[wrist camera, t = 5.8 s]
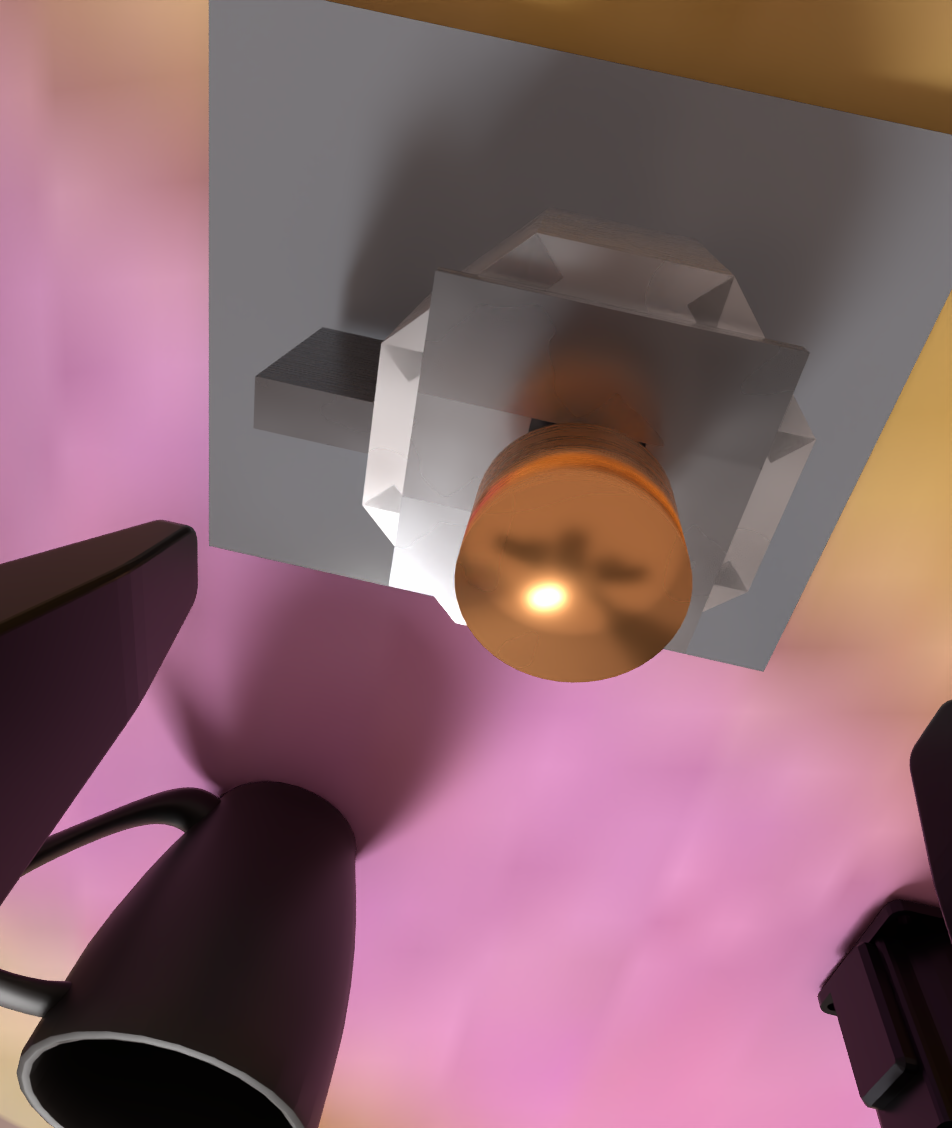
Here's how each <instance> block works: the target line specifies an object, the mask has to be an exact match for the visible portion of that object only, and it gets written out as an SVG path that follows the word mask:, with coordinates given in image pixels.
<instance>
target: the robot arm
mask: <svg viewBox="0 0 952 1128" xmlns="http://www.w3.org/2000/svg"><path fill="white" fill-rule="evenodd" d="M197 588H198V563H197V536H196V533H195V531H194V529H193V528H192V527H190V526H187V525H183V524H179V523H174V522H170V521H166V520H155V521H152V522H148V523H145V524H141V525H138V526H134V527H131V528H127V529H123V530H120V531H116V532H113V533H109V534H106V535H102V536H99V537H95V538H91V539H88V540H84V541H81V542H77V543H74V544H70V545H67V546H63V547H59V548H56V549H52V550H49V551H45V552H42V553H38V554H35V555H31V556H28V557H24V558H20V559H17V560H13V561H10V562H6V563H3V564H0V906H1V904H2V903H3V901H4V900H5V898H6V897H7V895H8V894H9V893H10V891H11V890H12V888H13V887H14V885H15V884H16V883H17V881H18V880H19V878H20V877H21V875H22V874H23V872H24V871H25V870H26V868H27V867H28V865H29V864H30V862H31V861H32V860H33V858H34V857H35V855H36V854H37V852H38V851H39V849H40V848H41V847H42V845H43V844H44V842H45V841H46V839H47V838H48V836H49V835H50V834H51V832H52V831H53V829H54V828H55V826H56V825H57V824H58V822H59V821H60V819H61V818H62V816H63V815H64V813H65V812H66V811H67V809H68V808H69V806H70V805H71V803H72V802H73V801H74V799H75V798H76V796H77V795H78V793H79V792H80V790H81V789H82V788H83V786H84V785H85V783H86V782H87V780H88V779H89V778H90V776H91V775H92V773H93V772H94V770H95V769H96V767H97V766H98V765H99V763H100V762H101V760H102V759H103V757H104V756H105V755H106V753H107V752H108V750H109V749H110V747H111V746H112V744H113V743H114V742H115V740H116V739H117V737H118V736H119V734H120V733H121V731H122V730H123V729H124V727H125V726H126V724H127V723H128V721H129V720H130V718H131V717H132V715H133V714H134V712H135V711H136V709H137V708H138V706H139V705H140V703H141V701H142V699H143V697H144V696H145V694H146V692H147V690H148V689H149V687H150V685H151V683H152V681H153V679H154V677H155V676H156V674H157V672H158V670H159V668H160V666H161V664H162V662H163V660H164V659H165V657H166V655H167V653H168V651H169V649H170V647H171V645H172V643H173V642H174V640H175V638H176V636H177V634H178V632H179V630H180V628H181V626H182V625H183V623H184V621H185V619H186V617H187V615H188V613H189V611H190V609H191V608H192V606H193V603H194V601H195V598H196V594H197ZM910 772H911V777H912V782H913V787H914V792H915V797H916V802H917V807H918V811H919V816H920V821H921V826H922V831H923V836H924V841H925V846H926V851H927V856H928V860H929V865H930V870H931V874H932V878H933V883H934V887H935V890H936V894H937V897H938V901H939V904H940V908H937V907H933V906H928V905H924V904H920V903H915V902H911V901H907V900H895V901H892V902H889V903H888V904H886V905H885V906H884V908H883V909H882V910H881V912H880V913H879V914H878V916H877V917H876V918H875V920H874V921H873V922H872V924H871V925H870V926H869V927H868V929H867V930H866V931H865V933H864V934H863V935H862V937H861V938H860V939H859V941H858V942H857V943H856V945H855V946H854V947H853V949H852V950H851V951H850V953H849V954H848V955H847V957H846V958H845V959H844V960H843V962H842V963H841V964H840V966H839V967H838V968H837V970H836V971H835V972H834V974H833V975H832V976H831V978H830V979H829V980H828V982H827V983H826V984H825V986H824V987H823V988H822V990H821V991H820V992H819V994H818V996H817V997H818V1000H819V1004H820V1008H821V1010H822V1011H823V1012H825V1013H827V1014H831V1015H835V1016H837V1017H838V1021H839V1024H840V1028H841V1031H842V1035H843V1038H844V1042H845V1045H846V1049H847V1052H848V1056H849V1059H850V1063H851V1066H852V1070H853V1073H854V1077H855V1080H856V1084H857V1087H858V1091H859V1094H860V1097H861V1099H862V1100H863V1102H864V1104H865V1105H866V1106H867V1107H869V1108H874V1109H876V1112H877V1115H878V1119H879V1122H880V1125H881V1128H952V700H949V701H947V702H946V703H944V704H943V705H942V706H941V707H940V708H939V710H938V711H937V713H936V714H935V716H934V717H933V719H932V720H931V722H930V723H929V725H928V726H927V728H926V729H925V731H924V732H923V734H922V735H921V737H920V738H919V740H918V741H917V743H916V744H915V746H914V747H913V750H912V752H911V756H910Z"/></svg>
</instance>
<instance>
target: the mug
mask: <svg viewBox="0 0 952 1128" xmlns="http://www.w3.org/2000/svg"><path fill="white" fill-rule="evenodd" d="M148 824H166V825H170V826H174V827H176V828H178V829H180V830H182V831H183V832H185V833H184V834H183V835H182V836H181V837H180V838H179V839H178V840H177V841H176V842H175V843H174V844H173V845H172V846H171V847H170V848H169V849H168V850H167V851H166V852H165V853H164V854H163V855H162V856H161V857H160V858H159V859H158V861H157V862H156V863H155V864H154V865H153V866H152V867H151V868H150V869H149V870H148V871H147V872H146V873H145V875H144V876H143V877H142V878H141V879H140V880H139V882H138V883H137V884H136V885H135V886H134V887H133V889H132V890H131V891H130V892H129V893H128V894H127V896H126V897H125V898H124V899H123V900H122V901H121V903H120V904H119V905H118V906H117V907H116V909H115V910H114V911H113V912H112V913H111V915H110V916H109V917H108V919H107V920H106V921H105V923H104V924H103V925H102V927H101V928H100V929H99V931H98V932H97V933H96V934H95V936H94V937H93V938H92V940H91V941H90V942H89V944H88V945H87V947H86V948H85V950H84V952H83V953H82V955H81V956H80V958H79V959H78V961H77V963H76V964H75V966H74V967H73V969H72V970H71V972H70V974H69V975H68V977H67V978H66V980H65V981H47V980H41V979H35V978H30V977H26V976H22V975H18V974H14V973H11V972H8V971H5V970H2V969H0V1006H2V1007H5V1008H8V1009H11V1010H14V1011H18V1012H22V1013H25V1014H29V1015H33V1016H38V1017H42V1019H41V1021H40V1022H39V1024H38V1025H37V1027H36V1029H35V1030H34V1032H33V1034H32V1035H31V1037H30V1038H29V1040H28V1042H27V1043H26V1045H25V1047H24V1048H23V1050H22V1053H21V1057H20V1061H19V1065H18V1069H17V1077H18V1081H19V1085H20V1089H21V1091H22V1092H23V1094H24V1095H25V1097H26V1099H27V1100H28V1102H29V1103H30V1105H31V1106H32V1107H33V1108H34V1109H35V1110H36V1111H37V1112H38V1113H39V1115H40V1116H41V1117H42V1118H43V1119H44V1120H45V1121H46V1122H47V1123H49V1124H50V1125H51V1126H53V1127H54V1128H318V1126H319V1122H320V1119H321V1115H322V1111H323V1108H324V1104H325V1100H326V1096H327V1093H328V1089H329V1085H330V1082H331V1078H332V1074H333V1070H334V1066H335V1062H336V1058H337V1054H338V1051H339V1047H340V1043H341V1039H342V1034H343V1029H344V1024H345V1018H346V1012H347V1006H348V1000H349V994H350V988H351V979H352V969H353V960H354V949H355V928H356V883H355V858H356V842H355V837H354V834H353V831H352V829H351V827H350V825H349V823H348V822H347V820H346V819H345V818H344V817H343V815H342V814H341V813H340V812H339V811H338V810H337V809H336V808H335V807H333V806H332V805H331V804H330V803H329V802H327V801H326V800H324V799H323V798H321V797H319V796H318V795H316V794H314V793H312V792H310V791H307V790H305V789H302V788H300V787H297V786H293V785H289V784H285V783H278V782H254V783H248V784H245V785H242V786H238V787H236V788H234V789H232V790H231V791H229V792H228V793H226V794H224V795H223V796H222V798H221V799H219V798H218V797H217V796H215V795H214V794H212V793H210V792H208V791H206V790H203V789H199V788H189V787H187V788H177V789H172V790H167V791H164V792H160V793H157V794H154V795H151V796H148V797H145V798H143V799H140V800H137V801H135V802H132V803H129V804H127V805H124V806H122V807H119V808H117V809H114V810H112V811H110V812H107V813H105V814H102V815H100V816H97V817H95V818H92V819H90V820H88V821H85V822H83V823H80V824H78V825H75V826H73V827H70V828H68V829H66V830H63V831H61V832H58V833H56V834H54V835H51V836H49V837H48V838H47V839H46V841H45V842H44V844H43V845H42V847H41V848H40V849H39V851H38V852H37V854H36V855H35V857H34V858H33V860H32V861H31V862H30V864H29V865H28V867H27V868H26V870H25V871H24V872H23V874H22V875H21V876H23V875H25V874H26V873H28V872H30V871H32V870H34V869H36V868H38V867H39V866H41V865H43V864H45V863H47V862H49V861H51V860H53V859H55V858H57V857H60V856H62V855H64V854H66V853H68V852H70V851H72V850H75V849H77V848H79V847H81V846H84V845H86V844H88V843H91V842H93V841H96V840H98V839H100V838H103V837H106V836H108V835H111V834H114V833H117V832H120V831H123V830H126V829H129V828H133V827H137V826H142V825H148Z"/></svg>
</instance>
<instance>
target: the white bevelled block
mask: <svg viewBox="0 0 952 1128" xmlns="http://www.w3.org/2000/svg"><path fill="white" fill-rule="evenodd" d="M809 354H810V352H809V351H808V350H806V349H805V348H804V347H803V346H798V345H794V344H789V343H784V342H780V341H775V340H771V339H766V338H765V337H764V335H763V333H762V331H761V329H760V327H759V325H758V323H757V321H756V319H755V316H754V314H753V312H752V310H751V308H750V306H749V304H748V302H747V300H746V298H745V296H744V294H743V292H742V290H741V288H740V286H739V284H738V282H737V280H736V278H735V276H734V275H733V274H732V273H731V272H730V271H729V270H728V269H727V268H726V267H725V266H724V265H722V264H721V263H720V262H719V261H718V260H717V259H716V258H715V257H714V256H713V255H712V254H711V253H710V252H709V251H708V250H707V249H706V248H705V247H703V246H702V245H701V244H700V243H699V242H698V241H697V240H696V239H693V238H688V237H684V236H679V235H675V234H670V233H665V232H661V231H656V230H652V229H647V228H643V227H638V226H633V225H629V224H624V223H620V222H615V221H610V220H606V219H601V218H597V217H592V216H587V215H583V214H578V213H574V212H569V211H564V210H560V209H555V208H551V207H549V208H548V209H546V210H545V211H544V212H542V213H541V214H539V215H538V216H537V217H535V218H534V219H532V220H531V221H530V222H528V223H527V224H526V225H524V226H523V227H521V228H520V229H519V230H517V231H516V232H514V233H513V234H512V235H510V236H509V237H508V238H506V239H505V240H503V241H502V242H501V243H499V244H498V245H496V246H495V247H494V248H492V249H491V250H489V251H488V252H487V253H485V254H484V255H483V256H481V257H480V258H478V259H477V260H476V261H474V262H473V263H471V264H470V265H469V266H467V267H466V268H465V269H463V270H462V271H457V270H452V269H447V268H443V267H439V268H438V269H437V270H436V271H435V277H434V283H433V290H432V292H431V293H430V294H429V295H428V296H427V297H426V298H425V299H424V300H423V301H422V302H421V303H420V304H419V305H418V306H417V307H416V308H415V309H414V310H413V311H412V312H411V313H410V314H409V315H408V316H407V317H406V318H405V319H404V320H403V321H402V322H401V324H400V325H399V326H398V327H397V328H396V329H395V330H394V331H393V332H392V333H391V334H390V335H389V336H388V337H387V338H386V339H385V340H384V341H383V340H379V339H374V338H370V337H365V336H361V335H356V334H352V333H347V332H343V331H338V330H334V329H329V328H325V327H322V328H320V329H319V330H318V331H316V332H315V333H314V334H312V335H311V336H310V337H308V338H307V339H305V340H304V341H303V342H301V343H300V344H299V345H297V346H296V347H294V348H293V349H292V350H290V351H289V352H288V353H286V354H285V355H284V356H282V357H281V358H279V359H278V360H277V361H275V362H274V363H273V364H271V365H270V366H268V367H267V368H266V369H264V370H263V371H262V372H260V373H259V374H258V375H256V376H255V395H254V426H253V428H255V429H259V430H263V431H268V432H272V433H277V434H281V435H286V436H290V437H295V438H299V439H304V440H308V441H313V442H317V443H321V444H326V445H330V446H335V447H339V448H344V449H348V450H353V451H357V452H362V453H366V454H368V460H367V468H366V477H365V485H364V494H363V502H362V505H363V507H364V508H365V509H366V510H367V512H368V513H369V514H370V515H371V517H372V518H373V519H374V520H375V522H376V523H377V524H378V526H379V527H380V528H381V529H382V531H383V532H384V533H385V534H386V536H387V537H388V538H389V539H390V541H391V542H392V543H393V545H394V546H395V547H394V554H393V561H392V567H391V574H390V581H389V586H392V587H397V588H401V589H405V590H410V591H414V592H419V593H423V594H427V595H432V596H435V598H436V599H437V600H438V602H439V603H440V604H441V605H442V607H443V608H444V609H445V610H446V612H447V613H448V614H449V615H450V617H451V618H452V619H453V621H454V622H455V623H459V624H463V625H467V624H466V622H465V620H464V618H463V616H462V614H461V612H460V609H459V606H458V603H457V598H456V592H455V568H456V562H457V558H458V554H459V551H460V548H461V544H462V541H463V538H464V534H465V531H466V528H467V524H468V521H469V518H470V515H471V511H472V508H473V505H474V501H475V498H476V495H477V491H478V488H479V485H480V483H481V480H482V478H483V476H484V474H485V472H486V470H487V469H488V467H489V466H490V464H491V463H492V461H493V460H494V459H495V458H496V457H497V455H498V454H499V453H500V452H501V451H502V450H504V449H505V448H506V447H507V446H508V445H509V444H511V443H512V442H513V441H515V440H516V439H518V438H519V437H521V436H523V435H525V434H527V433H528V431H529V427H530V423H531V418H535V419H539V420H544V421H548V422H553V423H557V424H558V423H569V422H581V423H591V424H598V425H602V426H605V427H609V428H612V429H615V430H617V431H619V432H622V433H624V434H626V435H628V436H629V437H631V438H633V439H634V440H636V441H638V442H642V446H644V447H645V448H646V449H647V450H648V451H649V452H650V453H651V454H652V455H653V456H654V457H655V458H656V459H657V461H658V462H659V464H660V465H661V466H662V468H663V469H664V471H665V473H666V475H667V477H668V479H669V481H670V484H671V487H672V491H673V494H674V498H675V502H676V506H677V510H678V514H679V519H680V523H681V527H682V531H683V535H684V539H685V543H686V547H687V551H688V555H689V559H690V564H691V570H692V595H691V602H690V605H689V608H688V611H687V615H686V617H685V619H684V621H683V623H682V625H681V627H680V629H679V630H678V631H677V633H676V634H675V636H674V637H673V639H672V640H671V641H670V642H669V643H668V644H667V645H666V646H665V649H670V650H674V651H678V652H683V653H686V650H687V648H688V645H689V643H690V641H691V638H692V636H693V633H694V631H695V629H696V626H697V624H698V621H699V619H700V617H701V614H702V612H704V611H706V610H708V609H711V608H713V607H715V606H717V605H720V604H722V603H724V602H726V601H729V600H731V599H733V598H735V597H737V596H740V595H742V594H744V593H746V592H748V591H749V588H750V586H751V584H752V582H753V579H754V577H755V575H756V573H757V571H758V568H759V566H760V564H761V562H762V559H763V557H764V555H765V553H766V550H767V548H768V546H769V544H770V541H771V539H772V537H773V535H774V532H775V530H776V528H777V526H778V523H779V521H780V519H781V517H782V515H783V512H784V510H785V508H786V506H787V503H788V501H789V499H790V497H791V494H792V492H793V490H794V488H795V485H796V483H797V481H798V479H799V476H800V474H801V472H802V470H803V468H804V465H805V463H806V461H807V459H808V456H809V454H810V452H811V450H812V447H813V445H814V443H815V441H816V439H815V437H814V435H813V433H812V431H811V429H810V427H809V425H808V423H807V421H806V419H805V417H804V415H803V413H802V411H801V409H800V407H799V405H798V403H797V401H796V399H795V397H794V395H793V393H794V390H795V388H796V386H797V383H798V381H799V378H800V376H801V374H802V371H803V369H804V366H805V364H806V362H807V359H808V357H809Z"/></svg>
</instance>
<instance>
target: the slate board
mask: <svg viewBox="0 0 952 1128" xmlns="http://www.w3.org/2000/svg"><path fill="white" fill-rule="evenodd" d="M549 207H551V208H555V209H560V210H564V211H569V212H574V213H578V214H583V215H587V216H592V217H597V218H601V219H606V220H610V221H615V222H620V223H624V224H629V225H633V226H638V227H643V228H647V229H652V230H656V231H661V232H665V233H670V234H675V235H679V236H684V237H688V238H693V239H696V240H697V241H698V242H699V243H700V244H701V245H702V246H703V247H705V248H706V249H707V250H708V251H709V252H710V253H711V254H712V255H713V256H714V257H715V258H716V259H717V260H718V261H719V262H720V263H721V264H722V265H724V266H725V267H726V268H727V269H728V270H729V271H730V272H731V273H732V274H733V275H734V276H735V278H736V280H737V282H738V284H739V286H740V288H741V290H742V292H743V294H744V296H745V298H746V300H747V302H748V304H749V306H750V308H751V310H752V312H753V314H754V316H755V319H756V321H757V323H758V325H759V327H760V329H761V331H762V333H763V335H764V337H765V338H766V339H771V340H775V341H780V342H784V343H789V344H794V345H798V346H803V347H804V348H805V349H806V350H808V351H809V352H810V354H809V357H808V359H807V362H806V364H805V366H804V369H803V371H802V374H801V376H800V378H799V381H798V383H797V386H796V388H795V390H794V393H793V395H794V397H795V399H796V401H797V403H798V405H799V407H800V409H801V411H802V413H803V415H804V417H805V419H806V421H807V423H808V425H809V427H810V429H811V431H812V433H813V435H814V437H815V439H816V441H815V443H814V445H813V447H812V450H811V452H810V454H809V456H808V459H807V461H806V463H805V465H804V468H803V470H802V472H801V474H800V476H799V479H798V481H797V483H796V485H795V488H794V490H793V492H792V494H791V497H790V499H789V501H788V503H787V506H786V508H785V510H784V512H783V515H782V517H781V519H780V521H779V523H778V526H777V528H776V530H775V532H774V535H773V537H772V539H771V541H770V544H769V546H768V548H767V550H766V553H765V555H764V557H763V559H762V562H761V564H760V566H759V568H758V571H757V573H756V575H755V577H754V579H753V582H752V584H751V586H750V588H749V591H748V592H746V593H744V594H742V595H740V596H737V597H735V598H733V599H731V600H729V601H726V602H724V603H722V604H720V605H717V606H715V607H713V608H711V609H708V610H706V611H704V612H702V614H701V617H700V619H699V621H698V624H697V626H696V629H695V631H694V633H693V636H692V638H691V641H690V643H689V645H688V648H687V650H686V653H684V654H688V655H692V656H697V657H701V658H706V659H710V660H715V661H719V662H723V663H728V664H732V665H737V666H741V667H745V668H750V669H754V670H759V671H763V672H764V670H765V668H766V666H767V664H768V662H769V659H770V657H771V655H772V653H773V651H774V649H775V647H776V645H777V643H778V641H779V639H780V637H781V635H782V633H783V631H784V629H785V627H786V625H787V623H788V621H789V619H790V617H791V615H792V613H793V611H794V609H795V607H796V605H797V603H798V601H799V599H800V596H801V594H802V592H803V590H804V588H805V586H806V584H807V582H808V580H809V578H810V576H811V574H812V572H813V570H814V568H815V566H816V564H817V562H818V560H819V558H820V556H821V554H822V552H823V550H824V548H825V546H826V544H827V542H828V540H829V538H830V535H831V533H832V531H833V529H834V527H835V525H836V523H837V521H838V519H839V517H840V515H841V513H842V511H843V509H844V507H845V505H846V503H847V501H848V499H849V497H850V495H851V493H852V491H853V489H854V487H855V485H856V483H857V481H858V479H859V477H860V475H861V472H862V470H863V468H864V466H865V464H866V462H867V460H868V458H869V456H870V454H871V452H872V450H873V448H874V446H875V444H876V442H877V440H878V438H879V436H880V434H881V432H882V430H883V428H884V426H885V424H886V422H887V420H888V418H889V416H890V414H891V411H892V409H893V407H894V405H895V403H896V401H897V399H898V397H899V395H900V393H901V391H902V389H903V387H904V385H905V383H906V381H907V379H908V377H909V375H910V373H911V371H912V369H913V367H914V365H915V363H916V361H917V359H918V357H919V355H920V353H921V351H922V348H923V346H924V344H925V342H926V340H927V338H928V336H929V334H930V332H931V330H932V328H933V326H934V324H935V322H936V320H937V318H938V316H939V314H940V312H941V310H942V308H943V306H944V304H945V302H946V300H947V298H948V296H949V294H950V292H951V290H952V135H950V134H946V133H941V132H936V131H932V130H927V129H922V128H918V127H913V126H908V125H904V124H899V123H894V122H890V121H885V120H880V119H876V118H871V117H866V116H862V115H857V114H852V113H848V112H843V111H838V110H834V109H829V108H824V107H820V106H815V105H810V104H806V103H801V102H796V101H792V100H787V99H782V98H778V97H773V96H768V95H764V94H759V93H754V92H750V91H745V90H740V89H736V88H731V87H726V86H722V85H717V84H712V83H708V82H703V81H698V80H694V79H689V78H684V77H680V76H675V75H670V74H666V73H661V72H656V71H652V70H647V69H642V68H638V67H633V66H628V65H624V64H619V63H614V62H610V61H605V60H600V59H596V58H591V57H586V56H582V55H577V54H572V53H568V52H563V51H558V50H554V49H549V48H544V47H540V46H535V45H530V44H526V43H521V42H516V41H512V40H507V39H502V38H498V37H493V36H488V35H484V34H479V33H474V32H470V31H465V30H460V29H456V28H451V27H446V26H442V25H437V24H432V23H428V22H423V21H418V20H414V19H409V18H404V17H400V16H395V15H390V14H386V13H381V12H376V11H372V10H367V9H362V8H358V7H353V6H348V5H343V4H339V3H334V2H329V1H325V0H209V546H213V547H217V548H221V549H226V550H230V551H235V552H239V553H243V554H248V555H252V556H257V557H261V558H265V559H270V560H274V561H279V562H283V563H287V564H292V565H296V566H301V567H305V568H309V569H314V570H318V571H323V572H327V573H331V574H336V575H340V576H345V577H349V578H353V579H358V580H362V581H367V582H371V583H375V584H380V585H384V586H389V581H390V574H391V567H392V561H393V554H394V547H395V546H394V545H393V543H392V542H391V541H390V539H389V538H388V537H387V536H386V534H385V533H384V532H383V531H382V529H381V528H380V527H379V526H378V524H377V523H376V522H375V520H374V519H373V518H372V517H371V515H370V514H369V513H368V512H367V510H366V509H365V508H364V507H363V505H362V502H363V494H364V485H365V477H366V468H367V460H368V454H366V453H362V452H357V451H353V450H348V449H344V448H339V447H335V446H330V445H326V444H321V443H317V442H313V441H308V440H304V439H299V438H295V437H290V436H286V435H281V434H277V433H272V432H268V431H263V430H259V429H255V428H253V426H254V395H255V376H256V375H258V374H259V373H260V372H262V371H263V370H264V369H266V368H267V367H268V366H270V365H271V364H273V363H274V362H275V361H277V360H278V359H279V358H281V357H282V356H284V355H285V354H286V353H288V352H289V351H290V350H292V349H293V348H294V347H296V346H297V345H299V344H300V343H301V342H303V341H304V340H305V339H307V338H308V337H310V336H311V335H312V334H314V333H315V332H316V331H318V330H319V329H320V328H322V327H325V328H329V329H334V330H338V331H343V332H347V333H352V334H356V335H361V336H365V337H370V338H374V339H379V340H383V341H384V340H385V339H386V338H387V337H388V336H389V335H390V334H391V333H392V332H393V331H394V330H395V329H396V328H397V327H398V326H399V325H400V324H401V322H402V321H403V320H404V319H405V318H406V317H407V316H408V315H409V314H410V313H411V312H412V311H413V310H414V309H415V308H416V307H417V306H418V305H419V304H420V303H421V302H422V301H423V300H424V299H425V298H426V297H427V296H428V295H429V294H430V293H431V292H432V290H433V283H434V277H435V271H436V270H437V269H438V268H439V267H443V268H447V269H452V270H457V271H462V270H463V269H465V268H466V267H467V266H469V265H470V264H471V263H473V262H474V261H476V260H477V259H478V258H480V257H481V256H483V255H484V254H485V253H487V252H488V251H489V250H491V249H492V248H494V247H495V246H496V245H498V244H499V243H501V242H502V241H503V240H505V239H506V238H508V237H509V236H510V235H512V234H513V233H514V232H516V231H517V230H519V229H520V228H521V227H523V226H524V225H526V224H527V223H528V222H530V221H531V220H532V219H534V218H535V217H537V216H538V215H539V214H541V213H542V212H544V211H545V210H546V209H548V208H549ZM389 587H392V586H389ZM393 588H397V587H393ZM397 589H401V588H397ZM402 590H405V589H402ZM406 591H410V590H406ZM411 592H414V591H411ZM415 593H419V592H415ZM419 594H423V593H419ZM424 595H427V594H424ZM428 596H432V595H428ZM433 597H435V596H433ZM664 649H665V648H664ZM666 650H670V649H666ZM670 651H674V650H670ZM675 652H678V651H675ZM679 653H683V652H679Z"/></svg>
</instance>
